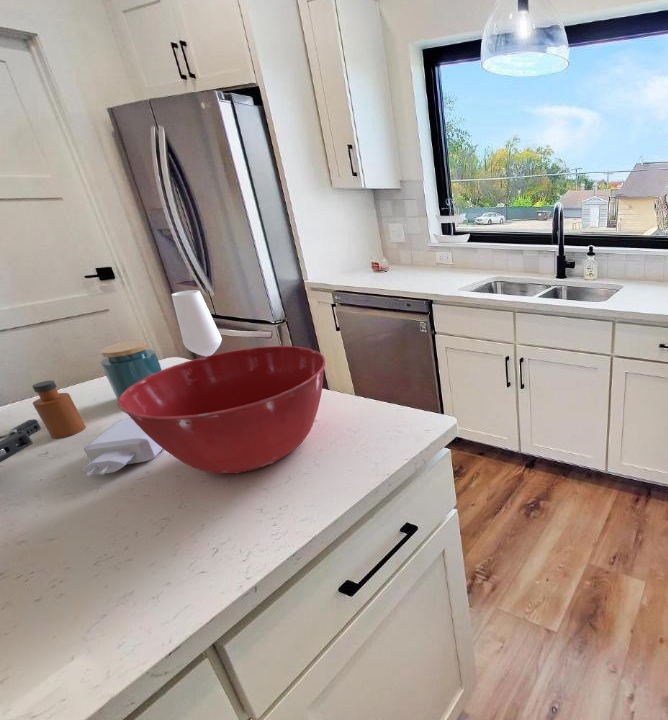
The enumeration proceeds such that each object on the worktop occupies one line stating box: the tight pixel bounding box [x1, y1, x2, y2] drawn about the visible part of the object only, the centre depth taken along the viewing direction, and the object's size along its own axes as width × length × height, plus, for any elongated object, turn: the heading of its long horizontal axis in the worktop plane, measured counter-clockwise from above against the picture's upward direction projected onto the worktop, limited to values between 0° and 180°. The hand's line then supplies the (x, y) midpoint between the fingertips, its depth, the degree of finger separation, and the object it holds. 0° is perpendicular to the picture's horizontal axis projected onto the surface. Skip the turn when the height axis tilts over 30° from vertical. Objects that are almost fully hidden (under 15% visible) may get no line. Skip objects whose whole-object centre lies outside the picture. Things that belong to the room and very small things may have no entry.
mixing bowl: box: [117, 345, 326, 474], centre depth 73 cm, size 28×28×16 cm
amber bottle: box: [31, 380, 87, 439], centre depth 81 cm, size 5×5×11 cm
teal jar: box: [99, 340, 163, 401], centre depth 94 cm, size 9×9×12 cm
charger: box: [82, 417, 164, 477], centre depth 73 cm, size 5×9×15 cm
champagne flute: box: [171, 289, 223, 357], centre depth 93 cm, size 7×7×24 cm
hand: (7, 426), depth 72 cm, fingers open, 8 cm apart
